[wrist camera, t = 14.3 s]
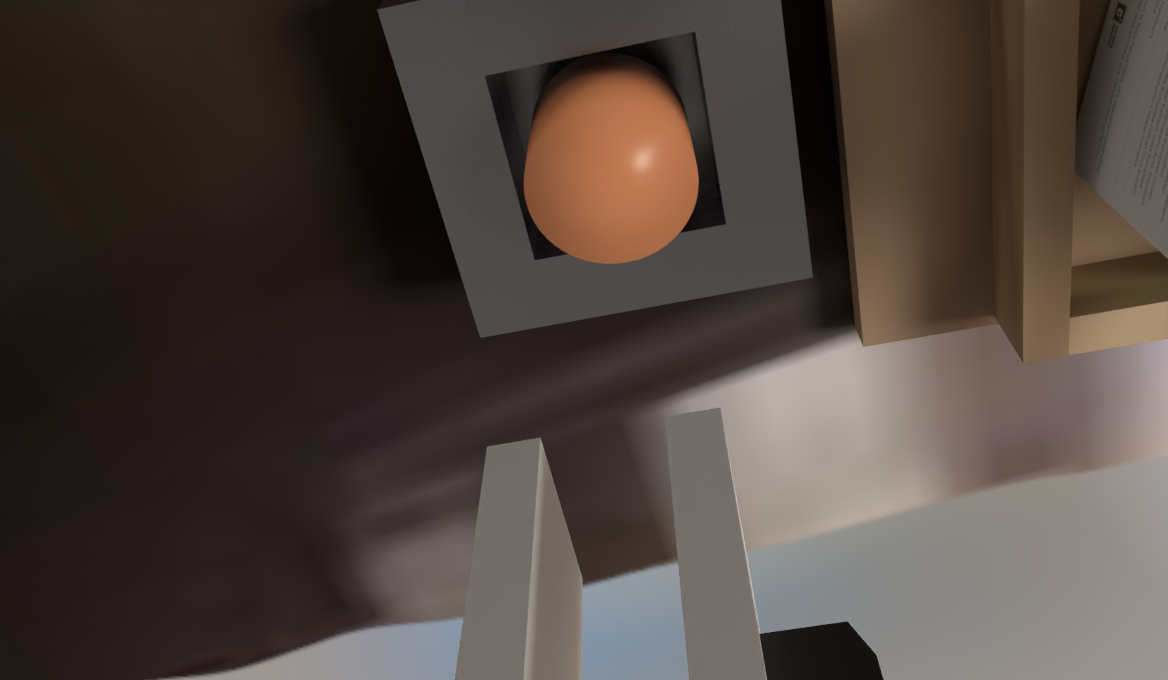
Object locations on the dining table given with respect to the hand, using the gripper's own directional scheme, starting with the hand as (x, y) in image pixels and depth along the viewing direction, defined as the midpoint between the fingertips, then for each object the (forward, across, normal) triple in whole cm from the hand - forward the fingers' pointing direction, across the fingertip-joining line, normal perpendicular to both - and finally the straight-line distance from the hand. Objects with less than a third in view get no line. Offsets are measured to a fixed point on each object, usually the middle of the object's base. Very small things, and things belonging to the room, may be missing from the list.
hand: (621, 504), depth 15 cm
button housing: (+16, 0, 0) cm, 16 cm away
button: (+14, 0, 0) cm, 14 cm away
